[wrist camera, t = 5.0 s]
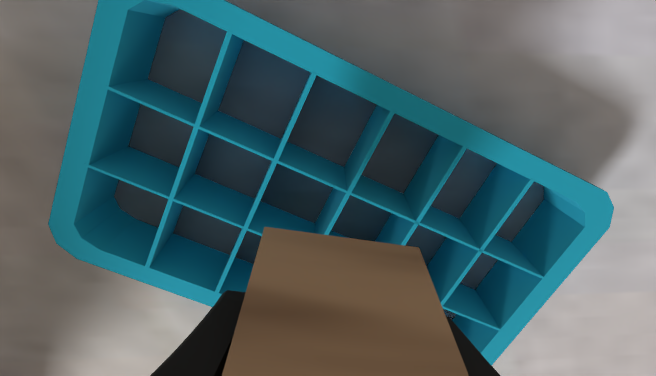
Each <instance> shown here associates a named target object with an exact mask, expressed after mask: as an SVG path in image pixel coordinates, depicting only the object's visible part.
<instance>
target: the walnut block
mask: <svg viewBox="0 0 656 376" xmlns="http://www.w3.org/2000/svg"><path fill="white" fill-rule="evenodd" d="M222 376H469V375H468V372H467V370H466V367H465V365H464V362H463V359H462V357H461V354H460V352H459V349H458V347H457V344H456V341H455V339H454V336H453V334H452V331H451V329H450V326H449V323H448V321H447V318H446V316H445V313H444V311H443V308H442V305H441V303H440V300H439V298H438V295H437V293H436V290H435V287H434V285H433V282H432V280H431V277H430V275H429V272H428V269H427V267H426V264H425V262H424V259H423V257H422V254H421V251H420V249H419V247H412V246H404V245H397V244H390V243H382V242H375V241H367V240H360V239H353V238H345V237H338V236H330V235H323V234H315V233H308V232H301V231H293V230H286V229H278V228H271V227H264V230H263V234H262V237H261V241H260V244H259V248H258V251H257V255H256V258H255V262H254V265H253V269H252V272H251V276H250V279H249V283H248V286H247V290H246V293H245V297H244V300H243V304H242V307H241V311H240V314H239V318H238V321H237V325H236V328H235V332H234V335H233V339H232V342H231V346H230V349H229V353H228V356H227V360H226V363H225V367H224V370H223V373H222Z"/></svg>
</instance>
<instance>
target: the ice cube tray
mask: <svg viewBox="0 0 656 376" xmlns="http://www.w3.org/2000/svg"><path fill="white" fill-rule="evenodd" d="M178 10H184V11H186V12H188V13H190V14H192V15H194V16H196V17H198V18H200V19H202V20H204V21H206V22H208V23H210V24H212V25H214V26H216V27H218V28H221V29H223V30H225V31H227V33H226V36H225V38H224V41H223V44H222V47H221V50H220V53H219V56H218V59H217V61H216V64H215V67H214V70H213V73H212V76H211V79H210V81H209V84H208V87H207V90H206V93H205V96H204V99H203V102H202V103H200V102H198V101H196V100H193V99H191V98H189V97H187V96H185V95H182V94H180V93H178V92H176V91H173V90H171V89H169V88H167V87H164V86H162V85H160V84H158V83H156V82H153V81H151V80H149V79H148V77H149V73H150V70H151V66H152V63H153V59H154V56H155V52H156V49H157V45H158V42H159V38H160V35H161V31H162V28H163V24H164V21H165V17H167V16H169V15H171V14H173V13H174V12H176V11H178ZM244 40H245V41H247V42H249V43H251V44H253V45H255V46H257V47H260V48H262V49H264V50H266V51H268V52H270V53H272V54H274V55H276V56H278V57H280V58H282V59H284V60H286V61H288V62H290V63H292V64H294V65H296V66H299V67H301V68H303V69H305V70H307V71H309V72H310V75H309V77H308V79H307V81H306V84H305V86H304V88H303V90H302V93H301V95H300V97H299V99H298V102H297V104H296V106H295V109H294V111H293V113H292V115H291V118H290V120H289V122H288V124H287V127H286V129H285V131H284V133H283V136H282V138H278V137H276V136H274V135H272V134H269V133H267V132H265V131H263V130H260V129H258V128H256V127H254V126H252V125H249V124H247V123H245V122H243V121H240V120H238V119H236V118H234V117H231V116H229V115H227V114H225V113H222V112H220V111H218V109H219V107H220V104H221V101H222V99H223V96H224V93H225V90H226V88H227V85H228V82H229V79H230V77H231V74H232V71H233V69H234V66H235V63H236V60H237V58H238V55H239V52H240V50H241V47H242V44H243V41H244ZM316 75H317V76H319V77H321V78H323V79H325V80H327V81H329V82H331V83H333V84H336V85H338V86H340V87H342V88H344V89H346V90H348V91H350V92H352V93H354V94H356V95H358V96H360V97H362V98H364V99H366V100H368V101H370V102H372V103H375V104H377V105H376V107H375V109H374V111H373V113H372V115H371V117H370V118H369V120H368V122H367V124H366V126H365V128H364V130H363V132H362V134H361V136H360V138H359V139H358V141H357V143H356V145H355V147H354V149H353V151H352V153H351V155H350V157H349V159H348V161H347V162H346V164H345V166H344V167H343V166H341V165H339V164H336V163H334V162H332V161H330V160H327V159H325V158H323V157H321V156H318V155H316V154H314V153H312V152H310V151H307V150H305V149H303V148H301V147H298V146H296V145H294V144H292V143H289V142H287V140H288V138H289V135H290V133H291V131H292V129H293V127H294V124H295V122H296V120H297V118H298V115H299V113H300V111H301V109H302V107H303V104H304V102H305V100H306V98H307V95H308V93H309V91H310V89H311V87H312V84H313V82H314V80H315V78H316ZM140 104H142V105H145V106H147V107H149V108H151V109H154V110H156V111H158V112H161V113H163V114H165V115H168V116H170V117H172V118H174V119H177V120H179V121H181V122H184V123H186V124H188V125H190V126H193V130H192V133H191V136H190V139H189V142H188V145H187V147H186V150H185V153H184V156H183V159H182V162H181V165H180V167H177V166H175V165H172V164H170V163H168V162H165V161H163V160H160V159H158V158H155V157H153V156H151V155H148V154H146V153H143V152H141V151H139V150H136V149H134V148H131V147H129V143H130V139H131V136H132V132H133V129H134V125H135V122H136V118H137V115H138V111H139V108H140ZM394 114H397V115H399V116H401V117H403V118H405V119H407V120H409V121H411V122H414V123H416V124H418V125H420V126H422V127H424V128H426V129H428V130H430V131H432V132H434V133H436V134H438V137H437V139H436V140H435V142H434V144H433V145H432V147H431V149H430V150H429V152H428V154H427V155H426V157H425V159H424V160H423V162H422V164H421V165H420V167H419V169H418V170H417V172H416V174H415V175H414V177H413V179H412V180H411V182H410V184H409V185H408V187H407V189H406V190H405V192H404V194H403V193H401V192H399V191H397V190H394V189H392V188H390V187H388V186H385V185H383V184H381V183H379V182H376V181H374V180H372V179H370V178H368V177H365V176H363V175H361V174H362V172H363V171H364V169H365V167H366V165H367V163H368V161H369V160H370V158H371V156H372V154H373V152H374V150H375V148H376V147H377V145H378V143H379V141H380V139H381V137H382V136H383V134H384V132H385V130H386V128H387V126H388V125H389V123H390V121H391V119H392V117H393V115H394ZM209 134H211V135H213V136H216V137H218V138H220V139H223V140H225V141H227V142H229V143H232V144H234V145H236V146H239V147H241V148H243V149H246V150H248V151H250V152H252V153H255V154H257V155H259V156H262V157H264V158H266V159H268V160H271V163H270V165H269V167H268V170H267V172H266V174H265V176H264V179H263V181H262V183H261V185H260V188H259V190H258V192H257V194H256V197H255V199H254V198H252V197H250V196H247V195H245V194H242V193H240V192H238V191H235V190H233V189H230V188H228V187H226V186H223V185H221V184H218V183H216V182H213V181H211V180H209V179H206V178H204V177H201V176H199V175H197V174H195V172H196V169H197V167H198V164H199V161H200V158H201V156H202V153H203V150H204V148H205V145H206V142H207V139H208V137H209ZM466 149H469V150H471V151H473V152H475V153H477V154H479V155H481V156H483V157H485V158H487V159H489V160H492V161H494V162H496V163H497V164H496V166H495V167H494V169H493V170H492V171H491V173H490V174H489V176H488V177H487V179H486V180H485V182H484V183H483V185H482V186H481V188H480V189H479V191H478V192H477V193H476V195H475V196H474V198H473V199H472V201H471V202H470V204H469V205H468V207H467V208H466V210H465V211H464V213H463V214H462V216H461V217H460V218H457V217H455V216H452V215H450V214H448V213H446V212H443V211H441V210H439V209H437V208H434V207H432V206H431V204H432V203H433V201H434V199H435V198H436V196H437V195H438V193H439V192H440V190H441V188H442V187H443V185H444V184H445V182H446V181H447V179H448V178H449V176H450V174H451V173H452V171H453V170H454V168H455V167H456V165H457V163H458V162H459V160H460V159H461V157H462V156H463V154H464V152H465V151H466ZM277 163H278V164H280V165H282V166H285V167H287V168H289V169H291V170H294V171H296V172H298V173H301V174H303V175H305V176H307V177H310V178H312V179H314V180H317V181H319V182H321V183H324V184H326V185H328V186H330V187H333V189H332V191H331V193H330V195H329V197H328V199H327V201H326V203H325V205H324V207H323V208H322V210H321V212H320V214H319V216H318V218H317V220H316V222H315V223H312V222H310V221H308V220H305V219H303V218H300V217H298V216H296V215H293V214H291V213H288V212H286V211H283V210H281V209H279V208H276V207H274V206H271V205H269V204H267V203H264V202H262V201H260V200H261V198H262V196H263V193H264V191H265V189H266V187H267V184H268V182H269V180H270V178H271V176H272V173H273V171H274V169H275V167H276V164H277ZM119 180H121V181H124V182H126V183H129V184H131V185H134V186H136V187H139V188H141V189H144V190H146V191H149V192H151V193H154V194H156V195H159V196H161V197H164V198H167V199H168V202H167V205H166V208H165V210H164V213H163V216H162V219H161V222H160V225H159V228H158V227H155V226H153V225H150V224H148V223H145V222H142V221H140V220H137V219H135V218H133V217H132V216H130V215H129V214H127V213H126V212H124V211H123V210H121V209H120V208H119V205H118V203H117V201H116V199H115V197H114V195H115V191H116V188H117V184H118V181H119ZM534 181H535V182H537V183H539V184H541V185H543V187H544V200H543V201H542V203H541V204H540V205H539V206H538V208H537V209H536V210H535V212H534V213H533V214H532V216H531V217H530V218H529V220H528V221H527V222H526V224H525V225H524V226H523V228H522V229H521V230H520V232H519V233H518V234H517V235H516V237H515V238H514V239H513V241H512V242H510V241H508V240H506V239H504V238H501V237H499V236H497V235H495V234H496V233H497V231H498V230H499V229H500V227H501V226H502V225H503V223H504V222H505V221H506V219H507V218H508V216H509V215H510V214H511V212H512V211H513V210H514V208H515V207H516V206H517V204H518V203H519V201H520V200H521V199H522V197H523V196H524V195H525V193H526V192H527V190H528V189H529V188H530V186H531V185H532V184H533V182H534ZM350 195H351V196H353V197H356V198H358V199H360V200H363V201H365V202H367V203H369V204H372V205H374V206H376V207H379V208H381V209H383V210H386V211H388V212H390V213H391V215H390V217H389V218H388V220H387V222H386V223H385V225H384V227H383V228H382V230H381V232H380V233H379V235H378V237H377V238H376V240H375V242H382V243H390V244H397V245H404V246H405V245H406V243H407V242H408V240H409V239H410V237H411V235H412V234H413V232H414V231H415V229H416V228H417V226H418V225H420V226H422V227H425V228H427V229H429V230H431V231H434V232H436V233H438V234H441V235H443V236H445V237H447V238H446V239H445V241H444V242H443V243H442V245H441V246H440V248H439V249H438V251H437V252H436V254H435V255H434V257H433V258H432V260H431V261H430V263H429V264H428V265H427V269H428V272H429V275H430V277H431V280H432V282H433V285H434V287H435V290H436V293H437V295H438V298H439V300H440V303H441V305H442V308H443V309H445V310H448V311H450V312H453V313H455V314H457V315H456V316H455V317H454V318H453V320H452V321H453V322H454V323H455V324H456V325H457V326H458V328H459V329H460V330H461V331H462V332H463V333H464V335H465V336H466V337H467V338H468V339H469V340H470V341H471V343H472V344H473V345H474V346H475V347H476V348H477V350H478V351H479V352H480V353H481V354H482V355H483V357H484V358H485V359H486V360H487V361H488V362H489V363H490V365H491V366H492V364H493V363H494V362H495V361H496V360H497V358H498V357H499V356H500V355H501V354H502V353H503V351H504V350H505V349H506V348H507V347H508V346H509V344H510V343H511V342H512V341H513V340H514V339H515V337H516V336H517V335H518V334H519V333H520V332H521V330H522V329H523V328H524V327H525V326H526V325H527V323H528V322H529V321H530V320H531V319H532V318H533V316H534V315H535V314H536V313H537V312H538V310H539V309H540V308H541V307H542V306H543V305H544V303H545V302H546V301H547V300H548V299H549V298H550V296H551V295H552V294H553V293H554V292H555V291H556V289H557V288H558V287H559V286H560V285H561V284H562V282H563V281H564V280H565V279H566V278H567V277H568V275H569V274H570V273H571V272H572V271H573V270H574V268H575V267H576V266H577V265H578V264H579V263H580V261H581V260H582V259H583V258H584V257H585V255H586V254H587V253H588V252H589V251H590V250H591V248H592V247H593V246H594V245H595V244H596V243H597V241H598V240H599V239H600V238H601V237H602V236H603V234H604V233H605V232H606V231H607V230H608V229H609V227H610V223H611V219H612V214H613V210H614V206H613V204H612V202H611V200H610V198H609V195H608V193H607V192H606V191H604V190H602V189H600V188H598V187H596V186H594V185H592V184H590V183H588V182H587V181H585V180H583V179H581V178H579V177H577V176H575V175H573V174H571V173H569V172H567V171H565V170H563V169H561V168H559V167H557V166H555V165H553V164H551V163H549V162H547V161H545V160H543V159H541V158H539V157H537V156H535V155H533V154H531V153H529V152H527V151H525V150H523V149H521V148H519V147H517V146H515V145H513V144H511V143H509V142H507V141H505V140H503V139H501V138H499V137H497V136H495V135H493V134H491V133H489V132H487V131H485V130H483V129H481V128H479V127H477V126H475V125H473V124H471V123H469V122H467V121H465V120H463V119H461V118H459V117H457V116H455V115H453V114H451V113H449V112H447V111H445V110H443V109H441V108H439V107H437V106H435V105H433V104H431V103H429V102H427V101H425V100H423V99H421V98H419V97H417V96H415V95H413V94H411V93H409V92H407V91H405V90H403V89H401V88H399V87H397V86H395V85H393V84H391V83H389V82H387V81H385V80H383V79H381V78H379V77H377V76H375V75H373V74H371V73H369V72H367V71H365V70H363V69H361V68H359V67H357V66H355V65H353V64H351V63H349V62H347V61H345V60H343V59H341V58H339V57H337V56H335V55H333V54H331V53H329V52H327V51H325V50H323V49H321V48H319V47H317V46H315V45H313V44H311V43H309V42H307V41H305V40H303V39H301V38H299V37H297V36H295V35H293V34H291V33H289V32H287V31H285V30H283V29H281V28H279V27H277V26H275V25H273V24H271V23H269V22H267V21H265V20H263V19H261V18H259V17H257V16H255V15H253V14H251V13H249V12H247V11H245V10H243V9H241V8H239V7H237V6H235V5H233V4H231V3H229V2H227V1H225V0H98V5H97V9H96V14H95V18H94V23H93V27H92V31H91V36H90V40H89V45H88V49H87V54H86V58H85V63H84V67H83V72H82V76H81V80H80V85H79V89H78V94H77V98H76V103H75V107H74V112H73V116H72V121H71V125H70V129H69V134H68V138H67V143H66V147H65V152H64V156H63V161H62V165H61V170H60V174H59V178H58V183H57V187H56V192H55V196H54V201H53V205H52V210H51V214H50V219H49V223H48V225H49V227H50V229H51V232H52V234H53V237H54V239H55V241H56V244H58V245H59V246H60V247H62V248H63V249H64V250H66V251H67V252H68V253H70V254H71V255H72V256H74V257H75V258H76V259H79V260H82V261H85V262H87V263H90V264H93V265H96V266H99V267H101V268H104V269H107V270H110V271H113V272H115V273H118V274H121V275H124V276H127V277H129V278H132V279H135V280H138V281H141V282H143V283H146V284H149V285H152V286H155V287H158V288H160V289H163V290H166V291H169V292H172V293H174V294H177V295H180V296H183V297H186V298H188V299H191V300H194V301H197V302H200V303H202V304H205V305H208V306H211V307H213V306H214V305H215V303H216V302H217V301H218V299H219V298H220V296H221V295H222V293H224V292H225V291H227V290H232V291H240V292H246V290H247V286H248V283H249V279H250V276H251V272H252V269H253V265H254V264H252V263H249V262H247V261H244V260H242V259H239V258H236V257H235V256H236V253H237V251H238V249H239V247H240V245H241V242H242V240H243V238H244V236H245V233H246V231H249V232H252V233H254V234H257V235H259V236H262V234H263V230H264V227H271V228H278V229H286V230H293V231H301V232H308V233H315V234H323V235H330V236H338V237H345V238H349V237H346V236H344V235H341V234H339V233H337V232H334V231H332V230H331V229H332V228H333V226H334V224H335V222H336V220H337V218H338V217H339V215H340V213H341V211H342V209H343V207H344V205H345V204H346V202H347V200H348V198H349V196H350ZM183 205H184V206H187V207H189V208H192V209H194V210H197V211H199V212H202V213H204V214H207V215H209V216H212V217H214V218H217V219H219V220H222V221H224V222H227V223H229V224H232V225H234V226H237V227H239V228H241V231H240V233H239V235H238V237H237V240H236V242H235V244H234V246H233V249H232V251H231V253H230V255H229V254H226V253H223V252H221V251H218V250H215V249H213V248H210V247H208V246H205V245H202V244H200V243H197V242H195V241H192V240H189V239H187V238H184V237H182V236H179V235H176V234H174V233H173V232H174V229H175V227H176V224H177V221H178V218H179V216H180V213H181V210H182V207H183ZM481 253H484V254H486V255H489V256H491V257H493V258H496V259H498V261H497V262H496V263H495V264H494V266H493V267H492V268H491V270H490V271H489V272H488V274H487V275H486V276H485V278H484V279H483V280H482V282H481V283H480V284H479V286H478V287H477V288H476V289H475V290H474V289H472V288H469V287H467V286H465V285H462V284H460V282H461V281H462V279H463V278H464V277H465V275H466V274H467V272H468V271H469V270H470V268H471V267H472V266H473V264H474V263H475V262H476V260H477V259H478V257H479V256H480V255H481Z"/></svg>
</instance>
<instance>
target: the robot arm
mask: <svg viewBox="0 0 656 376" xmlns="http://www.w3.org/2000/svg"><path fill="white" fill-rule="evenodd" d="M245 293H246V292H240V291H232V290H227V291H225V292H224V293H222V295H221V296H220V298H219V299H218V301H217V302H216V303H215V305H214V306H213V307H212V309H211V310H210V311H209V312H208V314H207V315H206V316H205V317H204V318H203V320H202V321H201V322H200V323H199V324H198V326H197V327H196V328H195V329H194V330H193V331H192V333H191V334H190V335H189V336H188V337H187V338H186V339H185V340H184V341H183V343H182V344H181V345H180V346H179V347H178V348H177V349H176V350H175V351H174V352H173V353H172V354H171V355H170V356H169V357H168V358H167V359H166V360H165V361H164V362H163V363H162V364H161V365H160V366H159V367H158V368H157V369H156V370H155V371H154V372H153V373H152V374H151V375H150V376H222V373H223V370H224V367H225V363H226V360H227V356H228V353H229V349H230V346H231V342H232V339H233V335H234V332H235V328H236V325H237V321H238V318H239V314H240V311H241V307H242V304H243V300H244V297H245ZM446 318H447V321H448V323H449V326H450V329H451V331H452V334H453V336H454V339H455V341H456V344H457V347H458V349H459V352H460V354H461V357H462V359H463V362H464V365H465V367H466V370H467V372H468V375H469V376H500V375H499V374H498V372H497V371H496V370H495V369H494V368H493V367H492V366H491V365H490V363H489V362H488V361H487V360H486V359H485V358H484V357H483V355H482V354H481V353H480V352H479V351H478V350H477V348H476V347H475V346H474V345H473V344H472V343H471V341H470V340H469V339H468V338H467V337H466V336H465V335H464V333H463V332H462V331H461V330H460V329H459V328H458V326H457V325H456V324H455V323H454V322H453V321H452V320H451V319H450V318H449V317H446Z"/></svg>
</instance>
